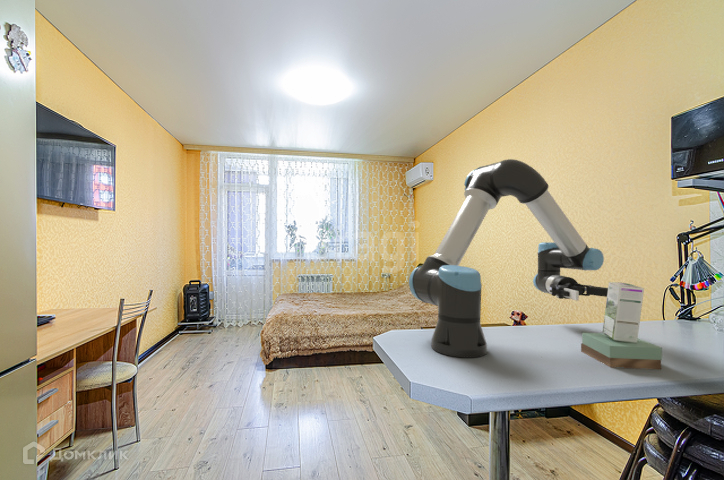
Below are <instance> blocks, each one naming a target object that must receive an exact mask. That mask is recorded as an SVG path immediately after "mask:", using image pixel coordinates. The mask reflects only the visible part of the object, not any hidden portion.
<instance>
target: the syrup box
mask: <svg viewBox="0 0 724 480" xmlns="http://www.w3.org/2000/svg"><path fill="white" fill-rule="evenodd" d="M607 288H608V293H607V297H606V300H605V301H606V302H605V303H606V304H605V311H604V316H603V317H604V318H603V327H602V333H604V334H605V335H607V336H608V337H610V338H612V339H613V340H617V341H624V342H631V343H637V339H639V329H640V323H641V316H642V307H643V301H644V292H645V288H644V287H641V286H638V285H634V284H631V283H626V282H620V281H619V282H618V281H617V282H616V281H615V282H614V281H613V282H612V281H608V287H607Z"/></svg>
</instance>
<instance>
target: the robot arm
mask: <svg viewBox="0 0 724 480" xmlns="http://www.w3.org/2000/svg"><path fill="white" fill-rule="evenodd" d="M463 184H464V186H465V187H464V193H463V195H464V197H465V199H464V201H463V203H462V205H461V207H460V208H459V210H458V212H457V213H456V215H455V217H454V218H453V220H452V222H451V224H450V226H449V227H448V229H447V231H446V233H445V234H444V237H443V238H442V240H441V242H440V243H439V245H438V247H437V249H436V250H435V252H434V254H432V255H428V256H427V257H426V258H425V261H424V262H423V264H422V265H420V266H417V267H415V268H414V269H412V271H411V273H410V275H409V279H408V286H409V289H410V290H409V291H410V292H411V294H412V296H413V297H414V298H416V299H417V300H419V301H421V302H422V303H425V304H430V305H433V306H437V322H436V326H435V328H434V331H433V334H432V337H431V348H432V349H433V351H435V352H437V353H439V354H442V355H445V356H450V357H456V358H477V357H478V358H479V357H482V356H485V355H486V354H487V353H488V352H487V350H488V349H487V348H488V345H487V340H486V338H485V334H484V332H483V328H482V323H481V315H482V314H481V313H482V311H481V310H482V309H481V307H482V306H481V305H482V286H483V285H482V280H481V279H482V278H481V273H480V271H478V270H477V269H475V268H471V267H468V266H461V265H460V263H461V262H462V260H463V258H464V256H465V254H466V252H467V251H468V249H469V248H470V245H471V244H472V242H473V239H474V237H475V236H476V234H477V232H478V230H479V229H480V227H481V225H482V223H483V221H484V219H485V218H486V215H488V212H489V210H493V209H495V208H496V207H497V205H498V203H499V201H500V200H501V198H502V197H508V196H512V197H514V198H516V199H517V201H518V202H519V203H520V204H523V205H526V207H527V209H529V211H530V212H531V214H532V215H533V216H534V218H535V219H536V220H537V222H538V223H539V224H540V226H541V227H542V228H543V230H544V231H545V232H546V233H547V234H548V236H549V237H550V239H551V240H552V241H553V242H540V243H538V249H537V250H538V251H537V273H536V274H535V275H534V277H533V279H532V281H533V282H532V284H533V286H534V287H535V289H536V290H538V291H540V292H542V293H544V294H550V295H551V296H553V297H555V298H558V299H559V300H560V299H564V300H569V299H570V300H572V301H573V300H574V301H576V302H577V301H580V300H579V299H580V298H579V297H580V296H585V297H589V296H597V297H604V298H607V293H608V287H603V286H594V285H591V284H581V283H579V282H578V281H577V280H576V279H574V278H573V277H569V276H565V275H561V269H566V270H567V269H568V270H579V271H598V270H600V269H601V268H602V266H603V264H604V262H605V261H604V260H605V257H604V253H603V252H602V251H601V249H598V248H595V247H589V246H588V245H587V243H586V242H585V240H584V239H583V238H582V235H580V234H579V232H578V230H577V229H576V228H575V226H574V225H573V223H572V222H571V221H570V220H569V218H568V217H567V215H566V214H565V212H564V211H563V210H562V208H561V207H560V205H559V204H558V203H557V202H556V200H555V198H554V197H553V195H552V194H551V193H550V191H549V187H550V186H549V184H548V182H547V181H546V180H545V178H544V176H542V175H541V173H540V172H538V170H536V169H535V168H533V166H531V165H529V164H527V163H525V162H523V161H521V160H519V159H512V158H508V159H504V160H501V161H498V162H497V161H496V162H494V163H490V164H486V165H482V166H479V167H477V168H475V169H473V170H472V171H470V172H469V173H468V175H467V176H466V177H465V181H464V183H463Z"/></svg>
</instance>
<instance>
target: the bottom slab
mask: <svg viewBox="0 0 724 480" xmlns="http://www.w3.org/2000/svg"><path fill="white" fill-rule="evenodd" d="M580 345H581V346H580V352H581V353H583V354H585V355H587V356H589V357H591V359H595V360H596V361H598V362H600V363H601V362H602V363H601V364H603V363H604V365H605V366H607V367H608V368H615V367H624V368H623V369H642V368H645V369H646V370H647V369H648V370H649V369H650V370H662V360H650V359H625V358H609V357H607V356H605V355H603V354H602V353H600V352H598V351H596V350H594V349H592V348H590V347H588V346H587V345H585V344H583V343H582V342H581V343H580ZM645 369H644V370H645Z"/></svg>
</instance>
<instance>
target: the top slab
mask: <svg viewBox="0 0 724 480" xmlns="http://www.w3.org/2000/svg"><path fill="white" fill-rule="evenodd" d="M581 338H582V341H581V343H583V344H585V345H587V346H588V347H590V348H592V349H594V350H596V351H598V352H600V353H602V354H603V355H605V356H607V357H609V358H625V359H650V360H661V361H663V347H660V346H658V345H656V344H654V343H651V342H648V341H646V340H643V339H641V338H638V339H637V343H631V342H624V341H617V340H613V339H612V338H610V337H608V336H607V335H605V334H604V333H603V332H601V333H598V332H582V336H581Z"/></svg>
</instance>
